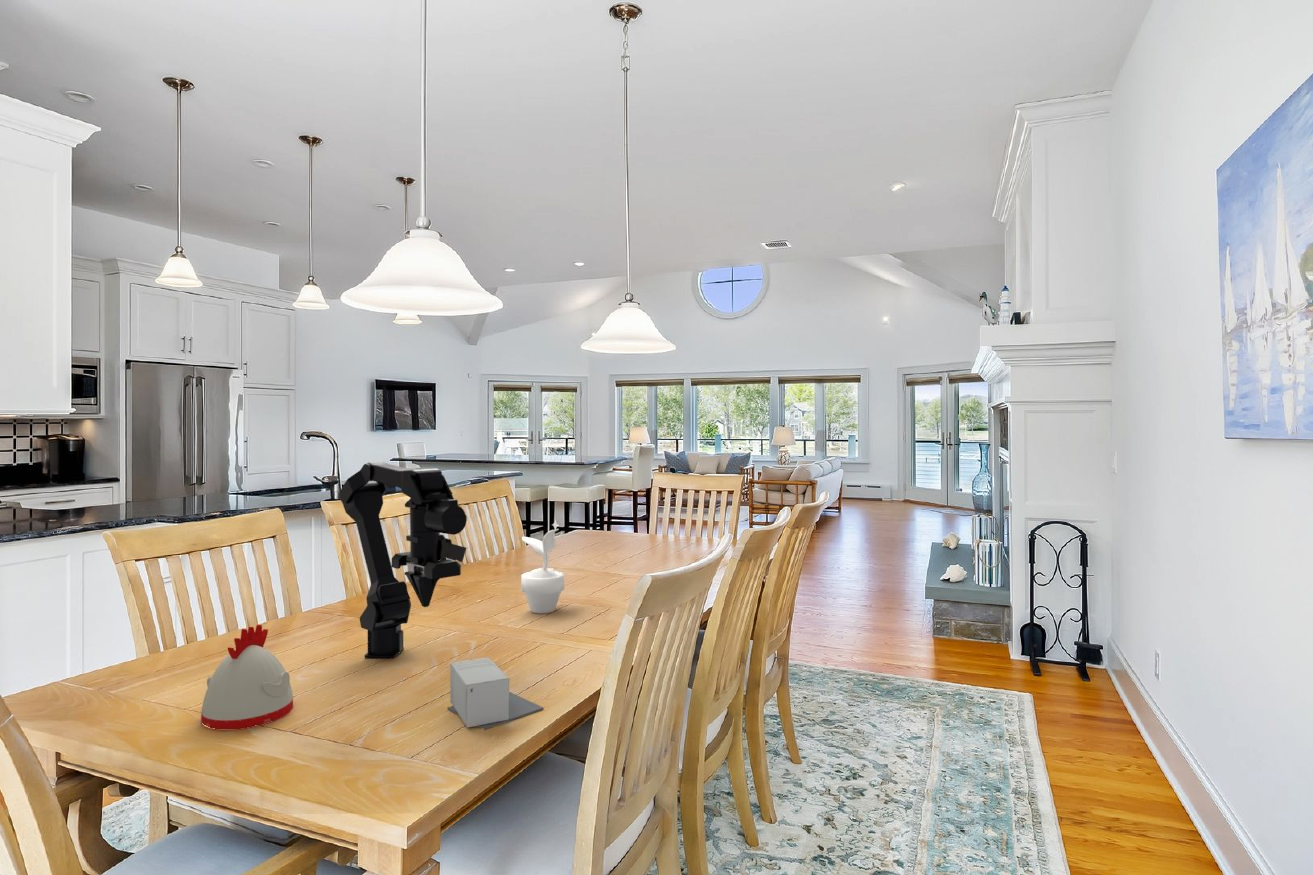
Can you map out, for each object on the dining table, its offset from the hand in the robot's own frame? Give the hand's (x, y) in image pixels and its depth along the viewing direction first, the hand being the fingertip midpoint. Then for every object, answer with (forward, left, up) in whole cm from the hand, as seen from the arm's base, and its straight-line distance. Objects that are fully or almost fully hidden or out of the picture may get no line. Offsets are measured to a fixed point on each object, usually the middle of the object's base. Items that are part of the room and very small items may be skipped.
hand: (425, 606), depth 147 cm
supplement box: (+13, -16, -9) cm, 23 cm away
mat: (+18, -20, -13) cm, 30 cm away
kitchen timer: (-24, -22, -13) cm, 35 cm away
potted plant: (+17, +46, -13) cm, 51 cm away
